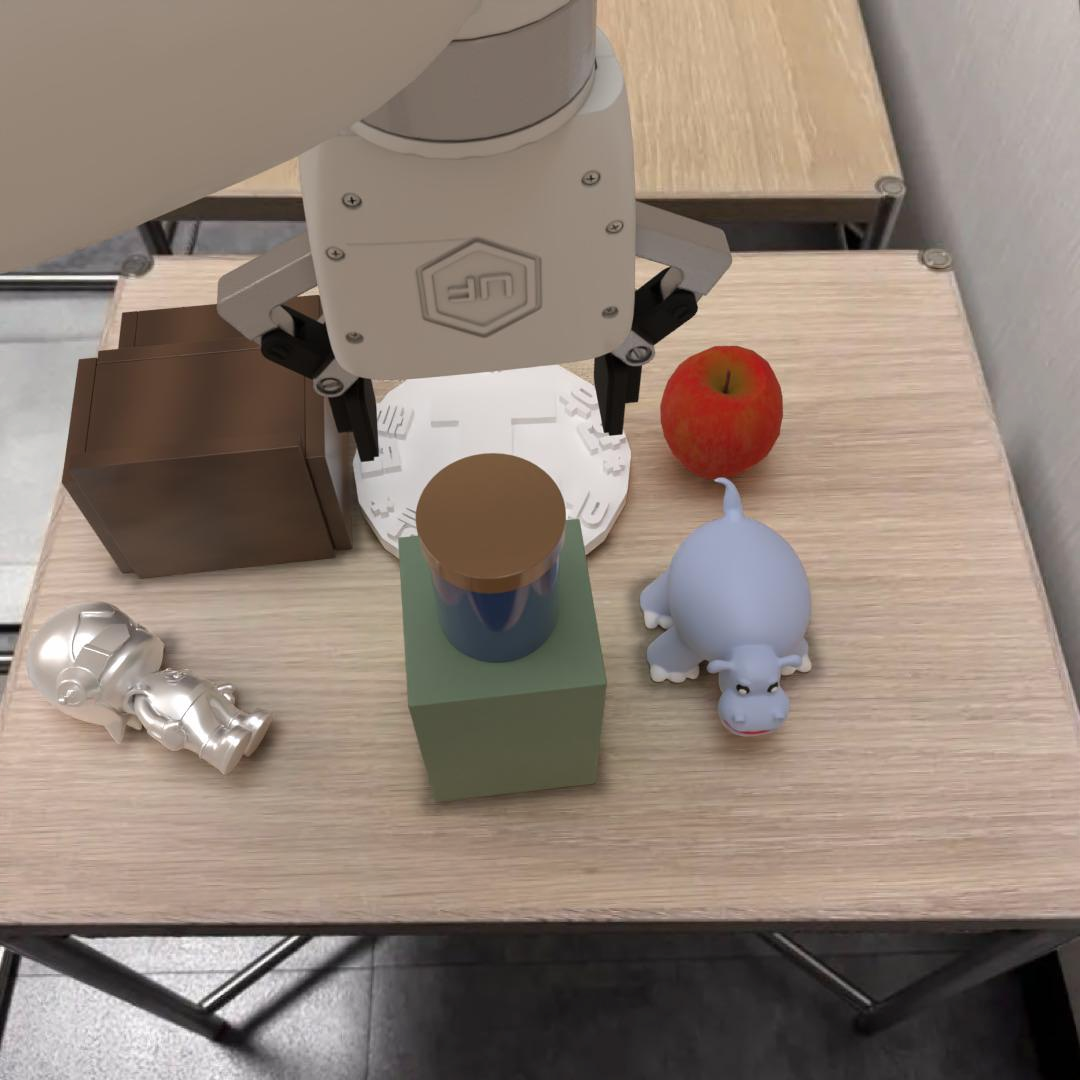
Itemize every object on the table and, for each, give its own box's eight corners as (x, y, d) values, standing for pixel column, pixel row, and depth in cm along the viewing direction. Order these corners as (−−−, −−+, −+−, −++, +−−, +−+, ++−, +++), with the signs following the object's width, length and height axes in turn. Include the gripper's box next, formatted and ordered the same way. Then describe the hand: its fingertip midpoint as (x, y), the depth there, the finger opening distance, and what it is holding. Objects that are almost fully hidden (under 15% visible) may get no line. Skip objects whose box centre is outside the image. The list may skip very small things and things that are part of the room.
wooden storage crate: (121, 580, 74) (47, 471, 63) (142, 356, 85) (82, 230, 74) (352, 556, 75) (319, 444, 64) (345, 337, 86) (315, 210, 75)
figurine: (225, 739, 60) (3, 604, 61) (178, 840, 62) (-35, 708, 63) (306, 674, 70) (114, 560, 71) (264, 763, 72) (78, 650, 73)
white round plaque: (658, 407, 82) (662, 382, 80) (586, 626, 72) (588, 605, 70) (415, 348, 85) (410, 323, 83) (314, 550, 75) (306, 528, 73)
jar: (437, 673, 54) (420, 586, 46) (428, 558, 58) (411, 460, 50) (571, 658, 54) (575, 569, 47) (554, 545, 58) (555, 445, 50)
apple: (681, 404, 82) (698, 303, 73) (785, 445, 80) (816, 346, 71) (633, 485, 78) (644, 389, 69) (741, 531, 76) (768, 438, 67)
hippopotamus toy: (660, 763, 67) (676, 703, 59) (632, 558, 75) (643, 480, 67) (830, 751, 67) (869, 690, 59) (785, 548, 75) (814, 470, 67)
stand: (434, 803, 66) (408, 706, 53) (424, 656, 71) (397, 537, 58) (595, 783, 66) (607, 683, 54) (573, 639, 72) (579, 518, 59)
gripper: (111, 143, 26) (271, 522, 41) (810, 82, 27) (720, 473, 41) (134, -33, 30) (272, 370, 44) (744, -82, 31) (683, 329, 45)
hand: (488, 420), depth 43 cm, fingers open, 9 cm apart
